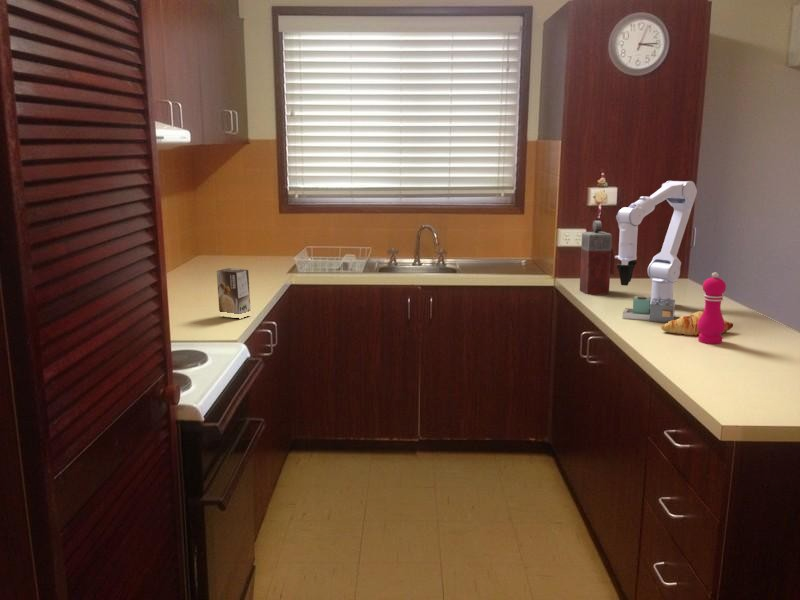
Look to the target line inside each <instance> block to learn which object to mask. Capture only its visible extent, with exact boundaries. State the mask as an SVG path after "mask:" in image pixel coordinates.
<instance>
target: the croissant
mask: <svg viewBox="0 0 800 600" xmlns="http://www.w3.org/2000/svg"><path fill="white" fill-rule="evenodd" d="M703 312H704V310H698V311H695V312H693V313H690V314H689V315H683V316H680V317H679V318H677V319H673V320H671V321H669V322H668V323H666V322H665V323H662V324H661V325H660V328H661V330H662V331H663V332H666V333H669V334H677V335H682V334H684V336H691V335H695V336H696V337H697V335H699V334H700V333H701V332H700V331H699V330H698V327H697V326H698V321H699V319H700V317H701V315H702V314H703ZM724 322H725V330H724V331H723V332H722V333H721V334H723V333H726V332H728V331H730V330H731V329H733V327H734V323H733V322H731V321H727V320H725V319H724ZM695 336H694V337H695Z"/></svg>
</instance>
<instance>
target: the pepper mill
mask: <svg viewBox="0 0 800 600" xmlns="http://www.w3.org/2000/svg"><path fill="white" fill-rule="evenodd" d="M726 289H727V285H726V282H725V280H723V278H719V273H718V272H716V271H715V272H712V273H711V277H709V278H706V279H705V280H704V282H703V284H702V290H703V292H704V294H703V296H704V297H703V299H704V301H705V302H704V309H703V314H702V315H701V317H700V319H699V321H698V326H697V327H698V330H699V331H700V332H701V333H700V334H699V336H698V338H697V340H698V341H699V342H700V343H703V344H707V345H719V344H721V343H723V335H722V334H723V333H724V332H723V331H724V330H725V322H724V320H725V319H724V316H723V314H722V311H721V310H722V309H721V305H722V301H724V295H723V294H724V293H725V292H726V291H727V290H726ZM722 332H723V333H722Z"/></svg>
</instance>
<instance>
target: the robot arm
mask: <svg viewBox="0 0 800 600" xmlns="http://www.w3.org/2000/svg"><path fill="white" fill-rule="evenodd" d="M696 186H697V185H696V184H695V182H694V181H692V180H687V181H684V180H683V181H682V180H681V181H680V180H667V181H666V182H663V183H662V184H661V187H660V188H659V189H657V190H656V191H655V192H654V193H652V194H650V196H643V195H642V196H640V197H639V199H638V200H636V201H635V202H632V203H631V204H630V205H629V206H628V207H626V206H624V207H621V209H619V210H618V212H617V214H616V216H615V217H616V218H615V219H616V222H617V224H618V229H619V237H618V239H619V241H618V255H615V259H617V260H620V261H619V263H617V264H615V267H616V269H617V270H618V274H619V279H620V285H621V286H627V287H628V286H629V283H630V282H631V281H632V277H633V274H634V269H635V267H636V265H637V264H638V261H637V258H638V256H637V252H638V251H637V250H638V249H637V248H638V247H637V245H638V232H639V231H638V230H639V225H640V224H641V223H642V221H643V219H644V218H645V217H647V216H648V215H649V214H650V213H652V212H653V211H654V210H655V208H656V206H657V205H658V204H660V203H663V202H664V201H665V200H666V201H667V202H668V204H669V205H670V206H671V207H672V208H673V213H672V216H671V219H670V221H669V222H670V223H669V226H668V229H667V230H666V231H667V232H666V234H665V237H664V240H663V241H664V242H663V244H662V246H661V247H662V248H661V250H660V252H658V253H657V254H656V255H654V256H653V257H652V259H651V262H650V263H649V265H648V267H647V275H648V277H649V278H650V281H651V293H650V294H651V295H650V297H651V300H650V304H651V302H652V300H653V298H656V299H658V297H660V298H661V299H667V298H670V299H672V300H674V299H673V298H674V286H675V285H674V284H675V283H676V282H677V280H678V279H679V277H680V275H681V266H682V262H681V260H680V259H679V258H678V256H677V255H678V253H679V249H680V247H681V243H682V240H683V238H684V234H685V231H686V227H687V225H688V221H689V219H690V216H691V211H692V208H693V206H694V203H695V200H696V197H697V193H698V190H697V187H696Z"/></svg>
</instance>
